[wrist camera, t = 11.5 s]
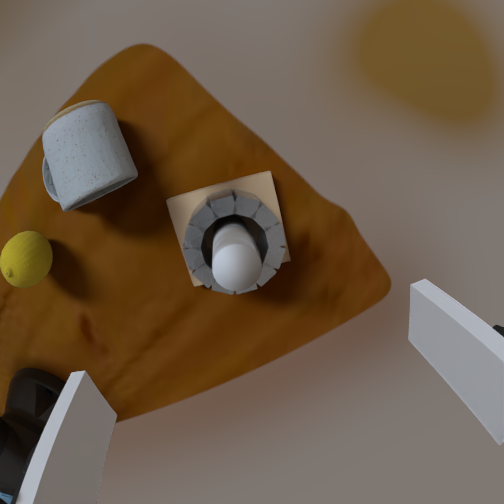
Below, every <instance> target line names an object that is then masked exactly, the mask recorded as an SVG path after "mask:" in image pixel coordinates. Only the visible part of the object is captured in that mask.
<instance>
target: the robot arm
mask: <svg viewBox="0 0 504 504" xmlns="http://www.w3.org/2000/svg"><path fill="white" fill-rule="evenodd" d="M410 286H411V287H410V320H409V338H408V340H409V341H410V342H411V343H412V344H413V345H414V346H415V348H416V349H417V350H418V351H419V352H420V353H421V354H422V355H423V356H424V357H425V359H426V360H427V361H428V362H429V363H430V364H431V365H432V366H433V367H434V368H435V370H436V371H437V372H438V373H439V374H440V375H441V376H442V378H443V379H444V380H445V381H446V382H447V383H448V384H449V385H450V386H451V388H452V389H453V390H454V391H455V392H456V394H457V395H458V396H459V397H460V398H461V399H462V401H463V402H464V403H465V404H466V405H467V406H468V408H469V409H470V410H471V411H472V412H473V414H474V415H475V416H476V417H477V418H478V420H479V421H480V422H481V423H482V424H483V426H484V427H485V428H486V429H487V431H488V432H489V433H490V434H491V436H492V437H493V438H494V439H495V441H496V442H497V443H498V444H499V445H500V444H502V443H503V442H504V327H501V326H499V325H495V326H494V327H490V326H489V325H487V324H486V323H485V322H484V321H483V320H481V319H480V318H479V317H477V316H476V315H475V314H473V313H472V312H471V311H469V310H468V309H467V308H465V307H464V306H463V305H461V304H460V303H458V302H457V301H456V300H454V299H453V298H452V297H450V296H449V295H448V294H446V293H445V292H443V291H442V290H441V289H439V288H438V287H436V286H435V285H433V284H432V283H430V282H429V281H428V280H426V279H424V280H421V281H419V282H416V283H414V284H411V285H410ZM116 418H117V415H116V413H115V412H114V411H113V409H112V408H111V407H110V405H109V404H108V403H107V401H106V400H105V399H104V397H103V396H102V394H101V393H100V391H99V390H98V389H97V387H96V386H95V384H94V383H93V381H92V380H91V378H90V377H89V375H88V374H87V372H86V371H79V372H72V373H71V375H70V377H69V379H68V381H67V382H66V384H64V383H63V382H62V381H60V380H59V379H57V378H55V377H54V376H52V375H50V374H48V373H46V372H43V371H40V370H37V369H33V368H23V369H20V370H19V371H17V372H16V374H15V375H14V377H13V378H12V380H11V382H10V384H9V390H8V394H7V399H6V405H5V411H4V414H3V416H2V417H0V504H96V503H97V498H98V493H99V488H100V483H101V478H102V474H103V469H104V465H105V461H106V457H107V452H108V448H109V444H110V440H111V436H112V433H113V429H114V425H115V422H116Z"/></svg>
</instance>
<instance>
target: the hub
mask: <svg viewBox="0 0 504 504" xmlns="http://www.w3.org/2000/svg"><path fill="white" fill-rule="evenodd" d="M232 214H238V215H242V216H246V217H250V218H253V219H254V220H255V221H256V222H257V223H258V226H259V230H260V232H259V236H258V239H257V242H256V246H257V248H258V251H259V253H260V257H261V261H262V265H263V268H262V271H261V275H260V277H259V279H258V280H257V282H256V283H257V284H258V285H260V286H261V287H262V286H263V285H264V284H265V283H266V282H267V281H268V280H269V279H270V278H271V277H272V276H273V275H275V274H276V273H277V272H276V270H275V268H277V269H279V268H280V265H281V262H282V259H283V256H284V253H285V250H286V248H285V247H284V245H286V242H285V238H284V233H283V229H282V224H281V223H280V222H279V219H278V218H277V217H276V216H275V215H274V214H273V213H272V211H271V210H270V209H269V208H268V207H267V206H266V205H265V204H264V203H263V202H262V201H261V200H260V199H259V198H258V197H257V196H256V195H254V194H253V193H250V192H246V191H243V190H239V189H235V188H234V189H233V192H231V190H230V188H229V189H225V190H221V191H218V192H214V193H211V196H210V197H209V196H208V195H207V197H206V198H205V199H204V200H203V201H202V202H201V203H200V204H199V205H198V206H197V207H196V208H195V209H194V211H193V212H192V215H191V217H190V220H189V222H188V224H187V229H186V233H185V237H184V242H183V247H184V248H183V253H184V256H185V259H186V262H187V265H188V268H189V271H191V270H193V271H192V275H193V276H194V277H196V278H197V279H198V280H199V281H200V282H201V283H203V284H204V285H205V286H206V287H207V288H209V287H210V286H211V285H212V290H214V291H218V292H223V293H228V294H232V295H233V292H234V291H231V290H228V289H225V288H223V287H222V286H221V285H219V284H218V283H217V281H216V280H215V278H214V276H213V272H212V259H213V250H211V249H210V248H209V247H208V246H207V244H206V240H205V237H204V231H205V230H206V229H207V228H208V227H209V226H210V225H211V224H212V223H213V222H214V221H215V220H216V219H217V218H221V217H225V216H228V215H232ZM256 283H255V284H254V285H253V286H251V287H250V288H248V289H245V290H241V291H236V294H240V293H244V292H248V291H251V290H255V289H258V288H257V285H256Z"/></svg>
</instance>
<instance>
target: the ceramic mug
mask: <svg viewBox="0 0 504 504" xmlns="http://www.w3.org/2000/svg"><path fill="white" fill-rule="evenodd" d="M43 147H44V152H45V157H44V160H43V179H44V183H45V187H46V189H47V191H48V193H49V195H50V196H51V198H52V199H54V200H55V201H57V202H60V204H61V207H62V209H63V211H65V212H68V211H71V210H73V209H76V208H78V207H80V206H82V205H84V204H86V203H89V202H91V201H93V200H95V199H97V198H100V197H102V196H103V195H105V194H107V193H110V192H112V191H114V190H116V189H118V188H119V187H122V186H123V185H125V184H127V183H129V182H131V181H132V180H134V179H136V177H137V176H138V172H137V170H136V167H135V165H134V162H133V160H132V158H131V155H130V153H129V150H128V147H127V145H126V142H125V140H124V138H123V136H122V133H121V130H120V128H119V125H118V122H117V119H116V117H115V114H114V113H113V111H112V109H111V108H110V106H109V105H108V104H107V103H105V102H103V101H99V100H90V101H84V102H81V103H78V104H75V105H73V106H70V107H68V108H67V109H65V110H63V111H61V112H60V113H58V114H57V115H56V116H54V117H53V118H52V119H51V120H50V121H49V122H48V124H47V125H46V127H45V128H44V130H43Z"/></svg>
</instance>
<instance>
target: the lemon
mask: <svg viewBox="0 0 504 504" xmlns="http://www.w3.org/2000/svg"><path fill="white" fill-rule="evenodd" d="M52 261H53V253H52V248H51V245H50V243H49V242H48V240H47V239H46V238H45V237H44V236H43V235H42V234H40V233H38V232H35V231H25V232H21V233H19V234H17V235H15V236H14V237H13V238H11V239H10V240H9V241H8V242H7V244H6V245H5V247H4V248H3V250H2V254H1V257H0V266H1V270H2V273H3V275H4V277H5V279H6V280H7V281H8V282H9V283H10V284H12V285H13V286H15V287H18V288H28V287H31V286H33V285H36V284H37V283H39V282H40V281H41V280H42V279H44V278H45V276H46V275H47V274H48V272H49V270H50V268H51V265H52Z"/></svg>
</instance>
